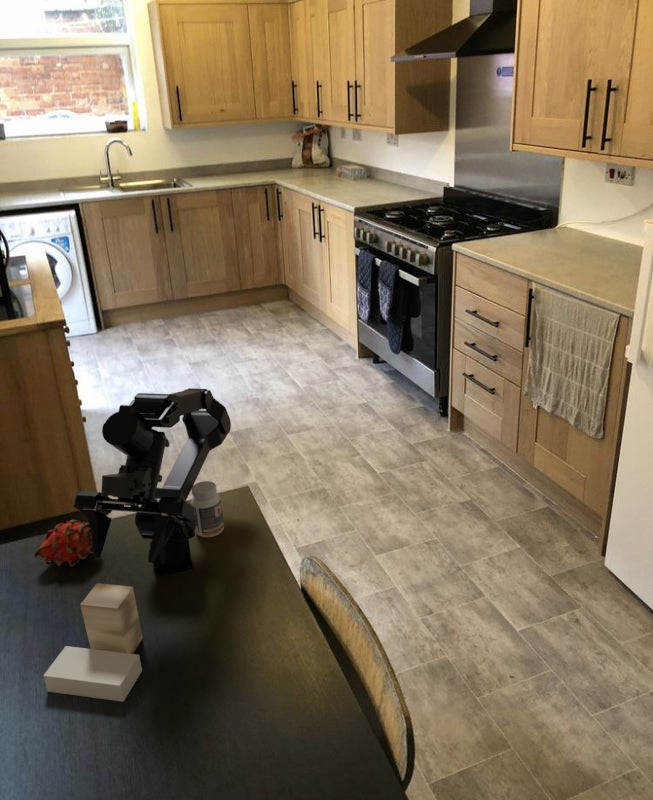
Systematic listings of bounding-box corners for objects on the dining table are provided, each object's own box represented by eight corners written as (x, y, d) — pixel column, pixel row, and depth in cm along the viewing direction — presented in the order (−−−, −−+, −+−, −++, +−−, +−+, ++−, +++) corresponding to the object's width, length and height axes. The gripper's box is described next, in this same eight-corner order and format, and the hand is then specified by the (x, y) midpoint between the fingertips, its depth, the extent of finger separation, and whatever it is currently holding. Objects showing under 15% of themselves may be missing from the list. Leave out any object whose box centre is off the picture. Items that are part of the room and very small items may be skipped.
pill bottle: (229, 524, 140) (224, 481, 136) (216, 540, 135) (210, 496, 131) (203, 520, 141) (198, 477, 137) (190, 536, 136) (183, 492, 133)
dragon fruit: (111, 558, 134) (48, 585, 130) (97, 520, 137) (35, 545, 133) (104, 543, 126) (37, 571, 123) (89, 503, 130) (23, 529, 126)
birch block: (108, 633, 112) (97, 582, 108) (143, 637, 111) (133, 586, 107) (92, 656, 107) (80, 604, 104) (128, 661, 106) (117, 608, 102)
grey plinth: (69, 661, 107) (65, 646, 106) (142, 670, 104) (139, 654, 103) (47, 691, 101) (43, 675, 100) (123, 701, 99) (120, 685, 98)
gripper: (67, 447, 110) (42, 546, 104) (178, 452, 106) (158, 556, 100) (100, 467, 120) (79, 558, 114) (202, 473, 116) (185, 568, 111)
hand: (123, 560), depth 110 cm, fingers open, 9 cm apart
